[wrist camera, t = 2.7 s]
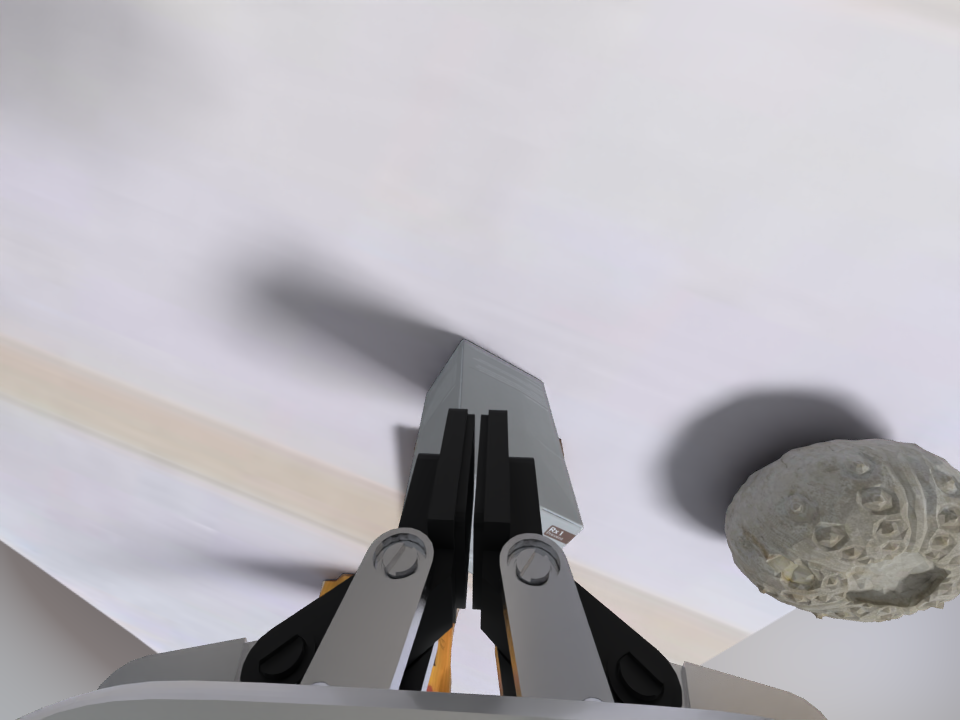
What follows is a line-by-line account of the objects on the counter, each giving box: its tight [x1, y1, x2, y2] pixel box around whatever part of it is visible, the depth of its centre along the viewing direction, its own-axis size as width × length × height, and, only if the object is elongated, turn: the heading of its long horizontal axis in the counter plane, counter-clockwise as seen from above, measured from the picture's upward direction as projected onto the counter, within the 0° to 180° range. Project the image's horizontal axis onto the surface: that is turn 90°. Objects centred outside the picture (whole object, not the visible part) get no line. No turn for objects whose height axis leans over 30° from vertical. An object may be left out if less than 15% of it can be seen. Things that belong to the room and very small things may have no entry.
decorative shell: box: [724, 439, 960, 622], centre depth 35 cm, size 18×18×10 cm
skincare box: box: [402, 339, 584, 574], centre depth 29 cm, size 8×7×16 cm
